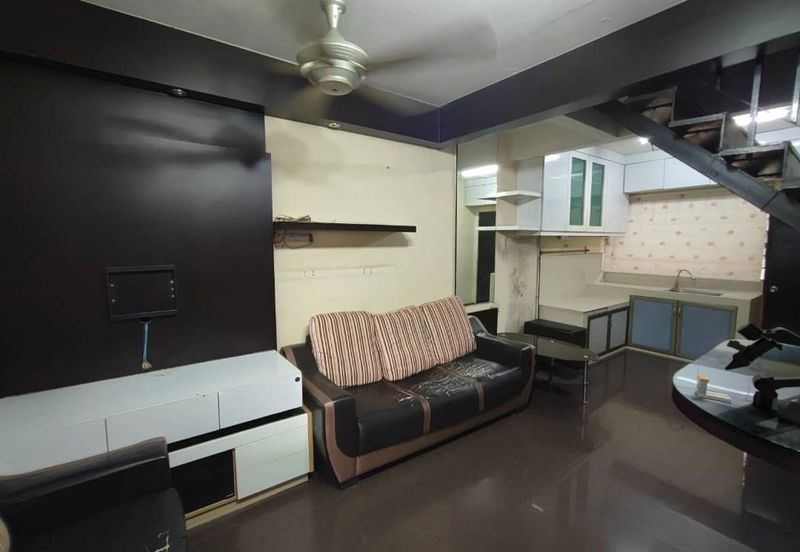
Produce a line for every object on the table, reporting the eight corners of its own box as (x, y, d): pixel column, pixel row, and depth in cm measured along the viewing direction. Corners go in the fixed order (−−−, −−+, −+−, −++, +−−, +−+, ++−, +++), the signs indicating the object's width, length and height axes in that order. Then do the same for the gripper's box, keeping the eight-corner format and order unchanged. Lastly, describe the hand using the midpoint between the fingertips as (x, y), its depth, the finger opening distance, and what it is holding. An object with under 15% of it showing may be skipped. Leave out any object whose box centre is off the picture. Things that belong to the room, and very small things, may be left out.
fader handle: (704, 390, 167) (705, 376, 166) (707, 393, 162) (709, 380, 162) (695, 388, 168) (697, 375, 168) (698, 392, 164) (700, 378, 163)
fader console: (726, 397, 163) (727, 394, 163) (731, 402, 158) (731, 399, 158) (695, 391, 169) (695, 388, 169) (698, 396, 164) (699, 393, 163)
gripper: (742, 334, 166) (711, 354, 173) (738, 334, 154) (706, 356, 161) (766, 353, 160) (734, 373, 167) (765, 355, 147) (729, 377, 154)
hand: (725, 369), depth 162 cm, fingers closed
